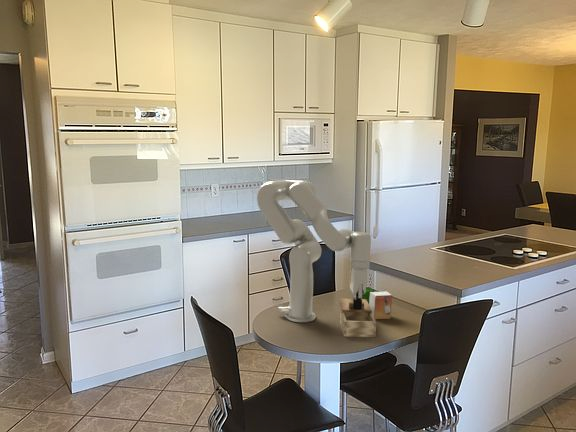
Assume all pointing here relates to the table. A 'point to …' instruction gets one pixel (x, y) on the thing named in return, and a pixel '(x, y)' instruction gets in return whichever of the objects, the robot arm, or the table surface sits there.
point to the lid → (347, 305)
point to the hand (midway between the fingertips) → (357, 308)
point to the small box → (380, 304)
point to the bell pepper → (367, 294)
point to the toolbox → (358, 324)
